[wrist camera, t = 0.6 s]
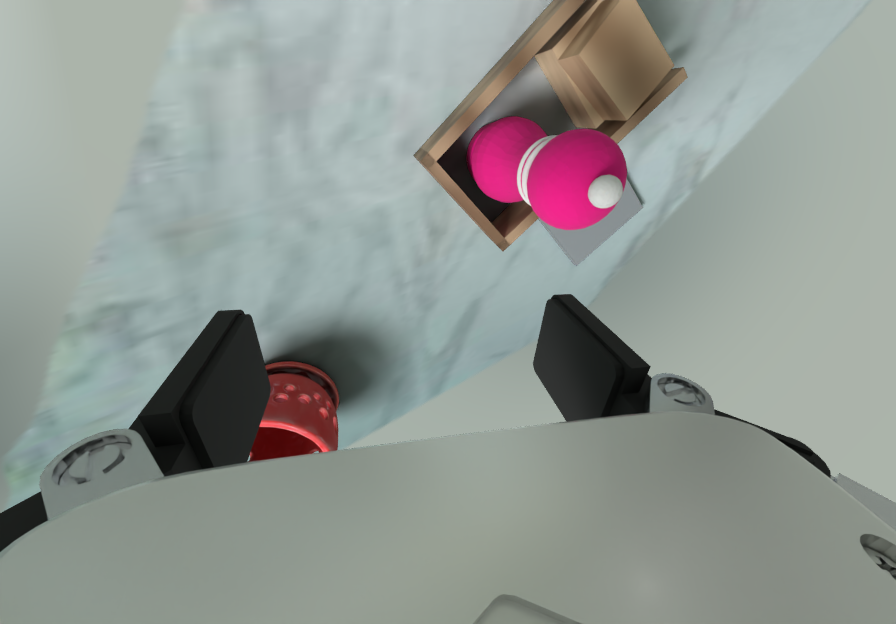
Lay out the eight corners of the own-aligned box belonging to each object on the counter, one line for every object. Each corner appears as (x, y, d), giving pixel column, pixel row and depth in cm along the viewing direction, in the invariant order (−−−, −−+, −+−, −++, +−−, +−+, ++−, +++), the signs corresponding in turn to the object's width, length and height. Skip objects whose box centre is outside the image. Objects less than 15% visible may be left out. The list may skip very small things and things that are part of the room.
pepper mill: (447, 148, 34) (528, 182, 17) (507, 98, 33) (656, 81, 16) (485, 206, 38) (582, 282, 21) (540, 163, 36) (690, 205, 20)
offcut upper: (600, 2, 27) (629, -12, 25) (644, 70, 31) (674, 65, 28) (557, 60, 29) (578, 54, 26) (603, 120, 32) (627, 120, 29)
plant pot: (349, 353, 43) (343, 426, 33) (336, 427, 49) (328, 509, 39) (232, 342, 39) (186, 421, 29) (233, 424, 45) (194, 513, 35)
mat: (600, 139, 37) (605, 140, 36) (638, 206, 41) (643, 207, 41) (529, 208, 39) (532, 209, 38) (573, 263, 44) (576, 266, 43)
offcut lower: (584, 0, 31) (611, -14, 27) (621, 80, 34) (649, 77, 31) (532, 56, 32) (552, 49, 28) (574, 127, 36) (596, 128, 32)
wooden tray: (593, -44, 29) (632, -72, 25) (648, 82, 35) (687, 77, 30) (413, 155, 34) (420, 161, 29) (488, 236, 39) (502, 251, 35)
